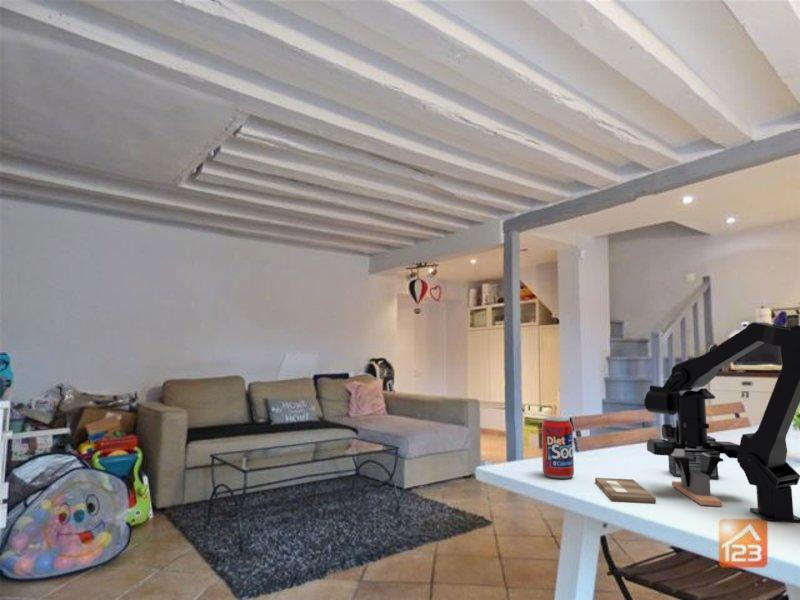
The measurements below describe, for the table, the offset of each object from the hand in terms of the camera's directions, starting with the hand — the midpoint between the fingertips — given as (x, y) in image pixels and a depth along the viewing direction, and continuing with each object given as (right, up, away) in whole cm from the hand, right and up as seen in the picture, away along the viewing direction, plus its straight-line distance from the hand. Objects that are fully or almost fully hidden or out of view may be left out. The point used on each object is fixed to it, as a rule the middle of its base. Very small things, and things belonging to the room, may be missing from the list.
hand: (695, 486), depth 114 cm
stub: (0, -2, 0) cm, 2 cm away
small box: (+11, -4, +19) cm, 22 cm away
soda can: (-26, -4, +17) cm, 31 cm away
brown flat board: (-15, -2, +2) cm, 16 cm away
